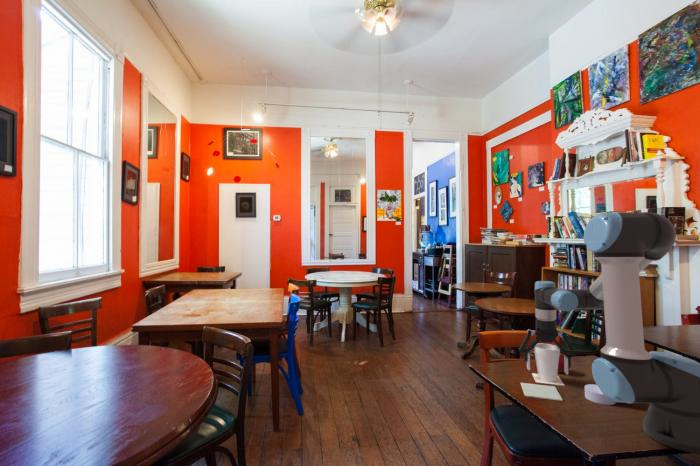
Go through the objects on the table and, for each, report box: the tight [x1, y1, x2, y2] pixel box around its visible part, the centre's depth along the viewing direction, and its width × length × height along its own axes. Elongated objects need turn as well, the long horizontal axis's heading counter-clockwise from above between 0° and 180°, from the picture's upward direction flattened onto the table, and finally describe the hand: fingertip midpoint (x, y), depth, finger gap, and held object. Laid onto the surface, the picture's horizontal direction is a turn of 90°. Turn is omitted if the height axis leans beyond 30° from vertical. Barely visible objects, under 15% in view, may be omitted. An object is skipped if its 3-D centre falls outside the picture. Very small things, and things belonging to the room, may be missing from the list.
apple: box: [557, 352, 572, 374], centre depth 147 cm, size 8×8×8 cm
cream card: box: [531, 372, 565, 387], centre depth 139 cm, size 10×10×1 cm
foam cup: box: [533, 342, 561, 382], centre depth 139 cm, size 10×9×13 cm
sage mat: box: [520, 382, 564, 402], centre depth 128 cm, size 12×12×1 cm
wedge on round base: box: [584, 383, 617, 406], centre depth 121 cm, size 9×7×13 cm
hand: (547, 371), depth 139 cm, fingers open, 13 cm apart
